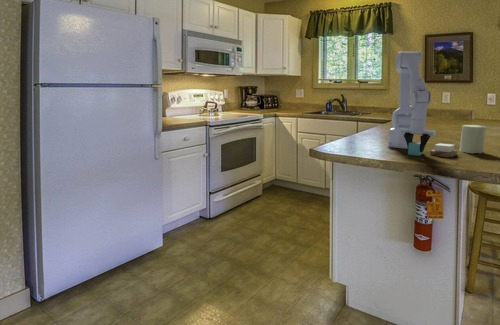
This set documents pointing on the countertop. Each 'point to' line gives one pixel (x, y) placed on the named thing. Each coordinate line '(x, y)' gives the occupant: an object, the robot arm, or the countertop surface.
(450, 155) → the walnut slab
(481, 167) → the countertop surface
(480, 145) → the can
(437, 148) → the white block
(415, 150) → the teal block
